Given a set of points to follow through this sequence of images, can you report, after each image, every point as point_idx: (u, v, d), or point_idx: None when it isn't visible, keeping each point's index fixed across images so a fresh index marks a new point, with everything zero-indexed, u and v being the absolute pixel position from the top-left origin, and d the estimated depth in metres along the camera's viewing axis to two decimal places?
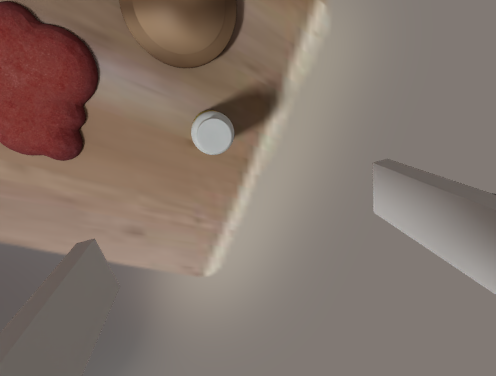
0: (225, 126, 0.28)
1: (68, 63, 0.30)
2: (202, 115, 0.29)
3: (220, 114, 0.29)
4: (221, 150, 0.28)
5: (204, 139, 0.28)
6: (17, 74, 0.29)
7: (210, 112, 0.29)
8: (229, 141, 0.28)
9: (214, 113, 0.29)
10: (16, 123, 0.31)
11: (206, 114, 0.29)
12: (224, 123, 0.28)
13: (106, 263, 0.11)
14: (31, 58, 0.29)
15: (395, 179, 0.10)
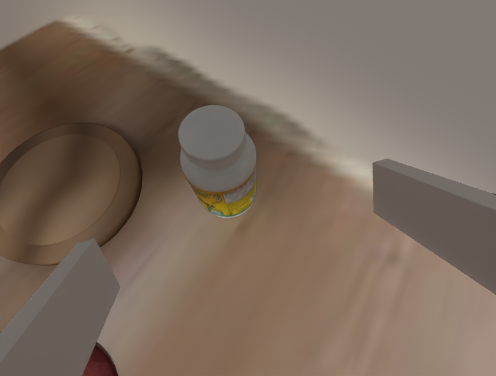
0: (200, 111, 0.15)
1: None
2: (181, 161, 0.16)
3: None
4: (241, 125, 0.15)
5: (211, 147, 0.14)
6: None
7: (181, 149, 0.17)
8: (228, 110, 0.15)
9: None
10: None
11: (181, 154, 0.17)
12: (194, 111, 0.15)
13: (106, 263, 0.11)
14: None
15: (395, 180, 0.10)
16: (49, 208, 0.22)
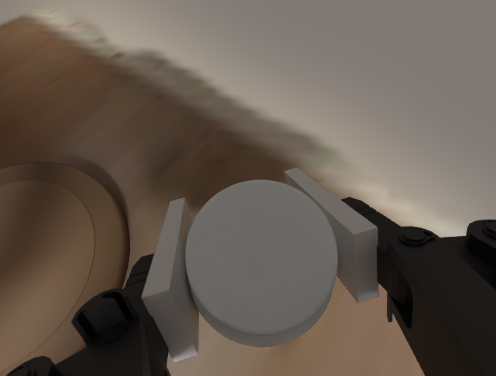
0: (232, 195, 0.07)
1: None
2: None
3: None
4: (327, 233, 0.06)
5: (264, 298, 0.06)
6: None
7: None
8: (294, 193, 0.07)
9: None
10: None
11: None
12: (220, 196, 0.07)
13: (191, 219, 0.13)
14: None
15: (294, 186, 0.12)
16: None
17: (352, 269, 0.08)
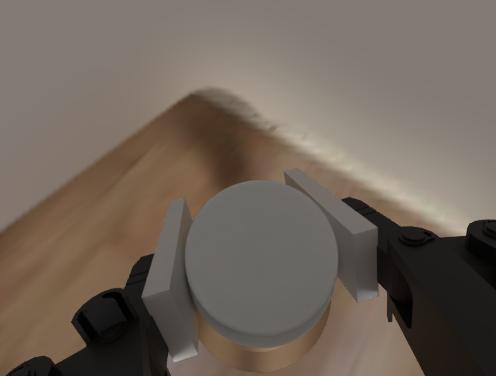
0: (232, 195, 0.07)
1: None
2: None
3: None
4: (327, 234, 0.06)
5: (264, 299, 0.06)
6: None
7: None
8: (294, 193, 0.07)
9: None
10: None
11: None
12: (220, 196, 0.07)
13: (191, 219, 0.13)
14: None
15: (294, 186, 0.12)
16: None
17: (352, 269, 0.08)
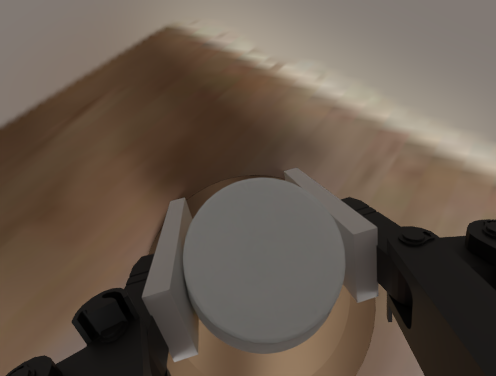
0: (233, 193, 0.07)
1: None
2: None
3: None
4: (334, 234, 0.06)
5: (267, 304, 0.05)
6: None
7: None
8: (298, 192, 0.07)
9: None
10: None
11: None
12: (220, 195, 0.07)
13: (191, 219, 0.13)
14: None
15: None
16: None
17: (352, 269, 0.08)
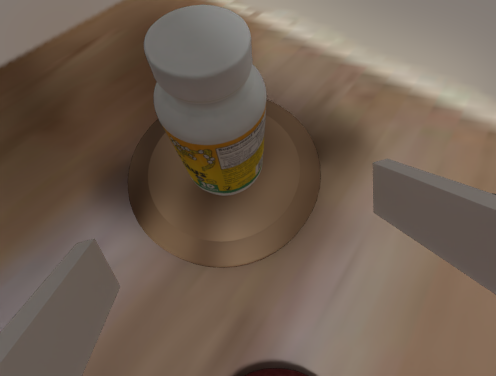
0: (181, 12, 0.10)
1: None
2: (154, 100, 0.11)
3: None
4: (244, 30, 0.09)
5: (195, 60, 0.09)
6: None
7: (156, 84, 0.12)
8: (225, 11, 0.10)
9: None
10: None
11: (155, 90, 0.11)
12: (172, 13, 0.10)
13: (106, 263, 0.11)
14: None
15: (395, 180, 0.10)
16: None
17: None
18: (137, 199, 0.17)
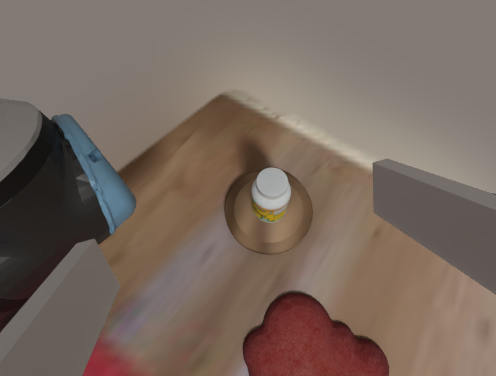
0: (265, 170, 0.31)
1: (298, 314, 0.33)
2: (253, 194, 0.32)
3: (256, 179, 0.33)
4: (286, 178, 0.30)
5: (273, 190, 0.30)
6: (302, 367, 0.30)
7: (252, 187, 0.33)
8: (279, 170, 0.31)
9: (253, 184, 0.33)
10: None
11: (253, 190, 0.32)
12: (262, 171, 0.31)
13: (106, 263, 0.11)
14: (291, 345, 0.31)
15: (395, 179, 0.10)
16: (267, 222, 0.38)
17: None
18: (231, 224, 0.38)
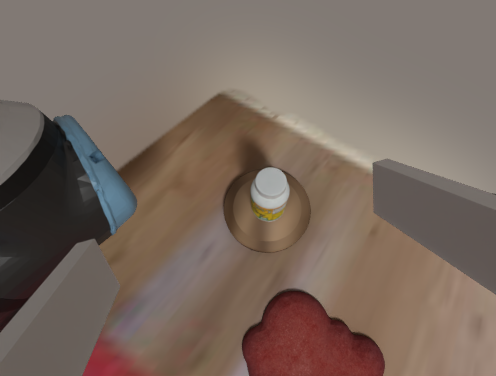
0: (264, 170, 0.31)
1: (296, 311, 0.33)
2: (252, 193, 0.33)
3: (255, 179, 0.34)
4: (284, 178, 0.31)
5: (271, 189, 0.30)
6: (300, 363, 0.31)
7: (251, 186, 0.33)
8: (278, 170, 0.31)
9: (252, 183, 0.33)
10: None
11: (252, 189, 0.33)
12: (261, 170, 0.31)
13: (106, 263, 0.11)
14: (289, 342, 0.32)
15: (395, 179, 0.10)
16: (266, 221, 0.39)
17: None
18: (230, 223, 0.39)
